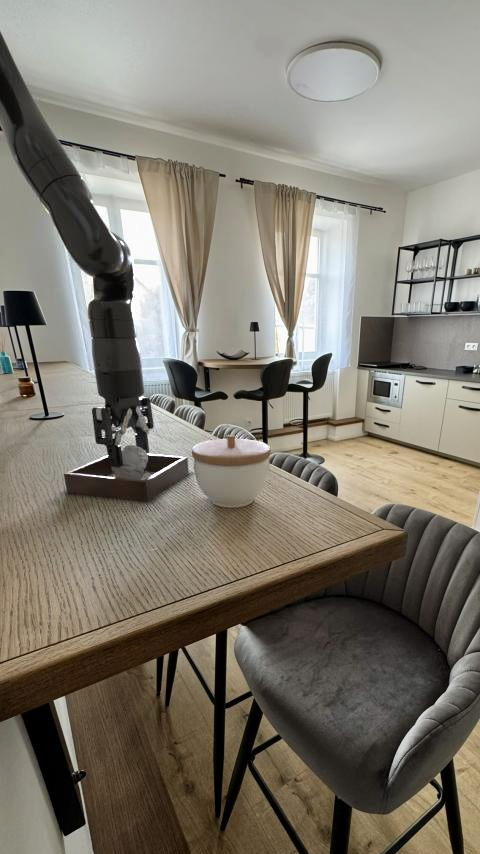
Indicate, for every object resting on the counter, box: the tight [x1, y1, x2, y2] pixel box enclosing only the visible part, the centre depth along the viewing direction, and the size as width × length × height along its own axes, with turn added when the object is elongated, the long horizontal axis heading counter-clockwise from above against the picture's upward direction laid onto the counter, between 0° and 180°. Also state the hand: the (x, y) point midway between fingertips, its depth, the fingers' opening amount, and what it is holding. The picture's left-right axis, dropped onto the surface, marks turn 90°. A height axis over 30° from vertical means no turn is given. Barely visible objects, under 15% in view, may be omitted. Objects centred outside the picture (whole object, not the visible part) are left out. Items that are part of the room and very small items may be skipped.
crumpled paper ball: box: [112, 444, 148, 480], centre depth 76 cm, size 6×7×7 cm
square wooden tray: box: [63, 453, 190, 503], centre depth 76 cm, size 16×16×4 cm
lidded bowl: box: [191, 434, 271, 509], centre depth 68 cm, size 13×13×11 cm
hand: (130, 459), depth 75 cm, fingers open, 8 cm apart
